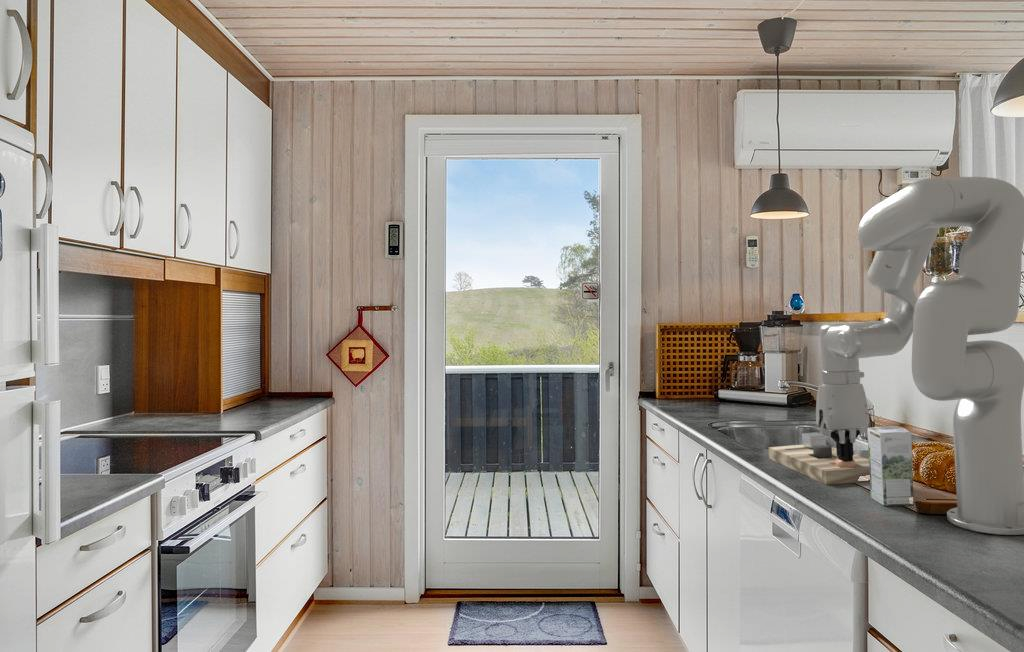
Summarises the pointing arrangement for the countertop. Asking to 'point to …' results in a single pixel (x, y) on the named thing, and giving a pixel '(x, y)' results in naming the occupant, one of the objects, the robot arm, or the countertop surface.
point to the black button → (822, 451)
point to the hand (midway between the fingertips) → (845, 459)
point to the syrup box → (890, 465)
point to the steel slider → (813, 439)
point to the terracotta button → (844, 463)
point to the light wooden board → (818, 464)
